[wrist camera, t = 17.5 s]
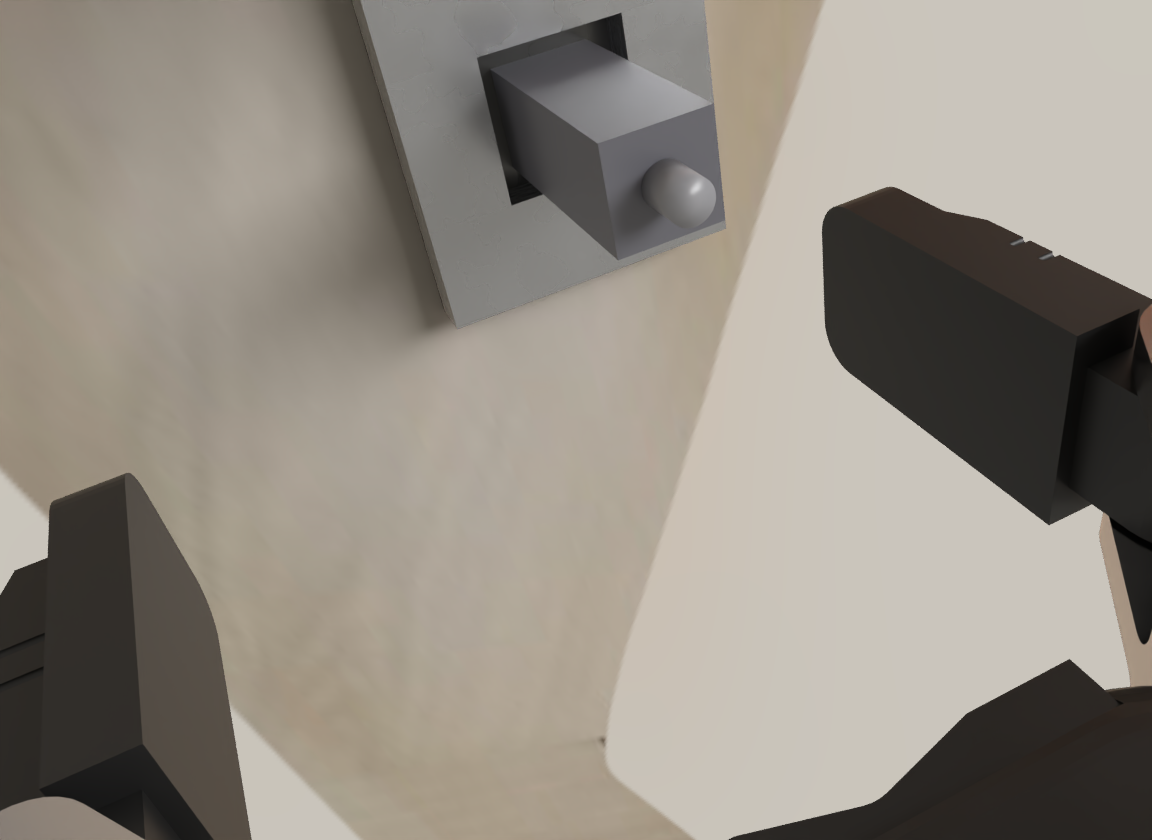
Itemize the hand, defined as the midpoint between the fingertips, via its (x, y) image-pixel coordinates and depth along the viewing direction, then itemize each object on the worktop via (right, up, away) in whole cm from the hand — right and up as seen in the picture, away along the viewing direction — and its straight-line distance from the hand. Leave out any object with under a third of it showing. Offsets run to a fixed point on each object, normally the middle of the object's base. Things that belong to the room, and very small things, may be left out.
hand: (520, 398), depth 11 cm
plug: (-1, +13, +32) cm, 35 cm away
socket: (-1, +14, +32) cm, 35 cm away
